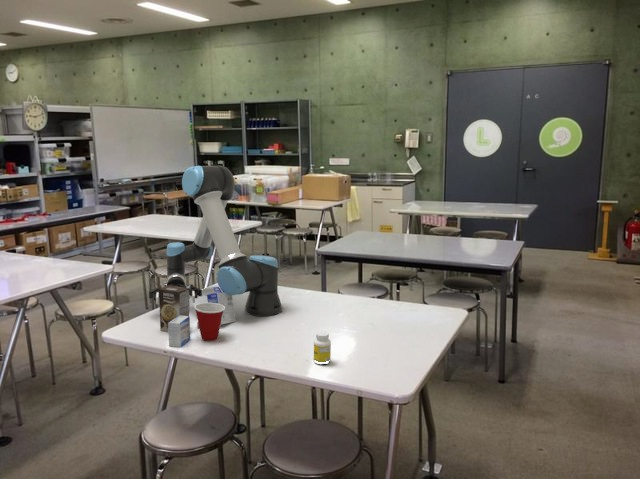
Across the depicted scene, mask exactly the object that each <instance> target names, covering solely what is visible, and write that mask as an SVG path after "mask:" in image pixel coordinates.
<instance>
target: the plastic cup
mask: <svg viewBox="0 0 640 479" xmlns="http://www.w3.org/2000/svg"><path fill="white" fill-rule="evenodd" d="M193 308H194V310H195V313H196V317H197V322H198V324H199V329H198V330H199V332H200V333H199V334H200V337H201V340H203V341H205V342H212V341H216V340H218V338H219V334H220V329H221V319H222V315H223V311H224V310H225V306H223V305H221V304H218V303H208V302H200V303H197V304H195V305H194V307H193Z"/></svg>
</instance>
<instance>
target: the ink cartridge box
mask: <svg viewBox="0 0 640 479" xmlns="http://www.w3.org/2000/svg"><path fill="white" fill-rule="evenodd" d="M212 289H213V290H214V293H208V294H206V298H207V303H218V304H221V305H223V306H225V310H224V311H223V315H222V319H221V325H225V324H230V323H233V322H234V323H235V322H236V315H235V308H234V298H233V295H228V294H227V293H225V292H223V291H222V290H221V289H220V287H219V286H213V287H212ZM221 325H220V326H221Z"/></svg>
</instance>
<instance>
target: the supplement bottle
mask: <svg viewBox="0 0 640 479" xmlns="http://www.w3.org/2000/svg"><path fill="white" fill-rule="evenodd" d="M329 336H330V334H329V332H327V331H323V330H321V331H317V332H316V334H315V340H314V341H313V361H314V360H316V361H318V362H326V361H329V360H330V361H331V355H332V354H331V353H332V352H331V350H332V349H331V347H332V346H331V345H332V344H331V343H332V342H331V340H330V339H329Z"/></svg>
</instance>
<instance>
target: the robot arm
mask: <svg viewBox="0 0 640 479" xmlns="http://www.w3.org/2000/svg"><path fill="white" fill-rule="evenodd" d="M235 184H236V183H235V179H234V175H233V173H232V172H231V171H230V169H228V167H226V166H223V165H196V166H190V167H188V168H187V169H186V170H185V171H184V173H183V175H182V178H181V187H182V190H183V191H182V192H184V194H185V195H186V196H188V197H192V199H193V202H194V204H196V205H199V207H200V210H201V213H202V218H201V221H200V224H199V226H198V229H197V232H196V235H195V238H194V240H193V243H192V244H187V245H185V243H183V242H169V243H168V244H167V246H166V269H167V270H166V279H167V280H166V286H169V285H171V286H178V287H184V288H189V297H192V303H196V300H195V299H198V297H202V296H203V292H202V289H201V288H198V287H197V286H195V285H194V284H189V286H186V268H185V267H186V264H188V263H193V262H197V261H203V260H206V259H209V258H211V257H212V255H213V250H214V249H213V246H214V247H215V250H216V253H217V255H218V259H219V263H218V265H217V267H218V270H217V273H216V276H217V277H216V283H217V285H218V287H219V288H220V290H221V291H222V292H225V293H227V294H228V295H232V296H239V295H243V294H244V293H248V292H249V293H248V295H247V299H246V302H245V305H244V307H245V308H244V311H245V313H246V314H248V315H251V316H255V317H269V316H268V315H271V316H274V315H273V314H275V315H277V314H276V313H278V312H280V311H281V310H282V308H283V307H282V301H281V299H280V296H279V293H278V290H279V289H278V288H279V287H278V285H279V284H278V283H279V277H278V276H279V265H278V260H277V258H276V257H272V256H268V255H260V254H259V255H250V256H249V259H248V256H247V255H246V254H244V253H242V252H241V249H240V247H239V244H238V241H237V239H236V237H235V233H234V231H233V229H232V225H231V223H230V220H229V218H228V215H227V213H226V207H227V204H228V202H229V201H231V200H232V198H233V196H234V193H235V187H236V186H235ZM212 242H213V246H212ZM163 287H164V286H162V285H158V286H157V287H156V288H154V289H152V290H150V291H149V292H148V298H149V299H153V301H155V305H159V289H160V288H163ZM281 312H282V311H281ZM281 312H280V313H281ZM278 314H279V313H278Z"/></svg>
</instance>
